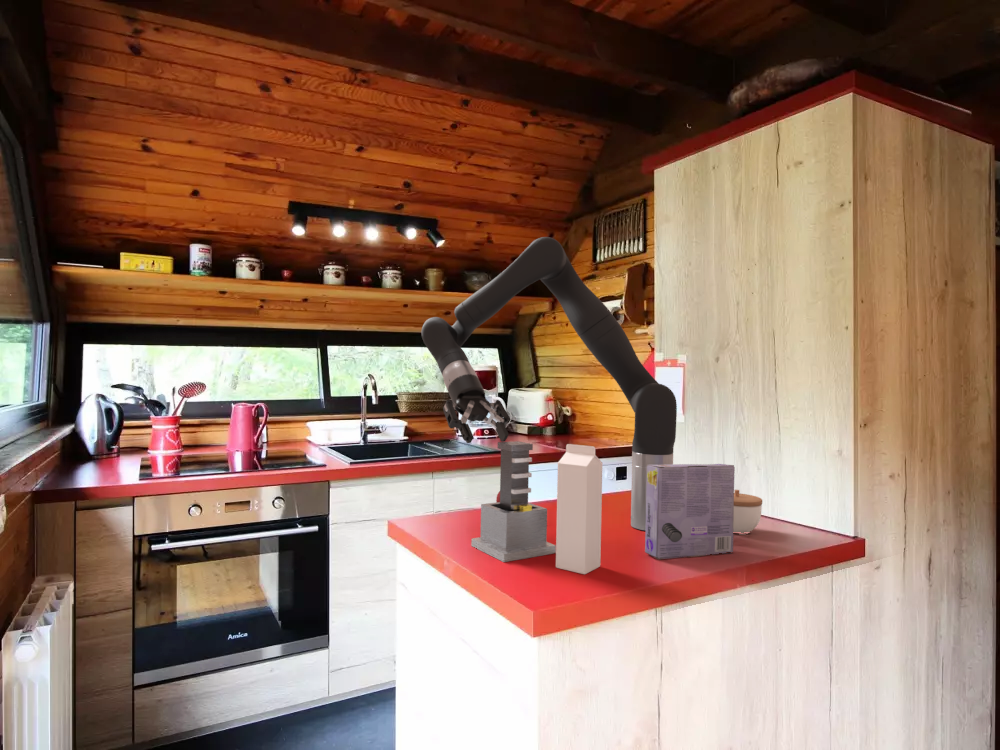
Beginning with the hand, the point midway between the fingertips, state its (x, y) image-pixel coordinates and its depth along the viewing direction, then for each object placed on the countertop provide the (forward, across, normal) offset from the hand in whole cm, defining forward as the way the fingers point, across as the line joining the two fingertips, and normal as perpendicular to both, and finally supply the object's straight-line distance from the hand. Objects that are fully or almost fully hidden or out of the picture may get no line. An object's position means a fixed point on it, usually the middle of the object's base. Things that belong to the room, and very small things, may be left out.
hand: (488, 440), depth 128 cm
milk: (+32, +4, -3) cm, 33 cm away
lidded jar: (+30, +53, -1) cm, 61 cm away
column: (+21, 0, +6) cm, 22 cm away
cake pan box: (+35, +30, -6) cm, 47 cm away
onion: (+4, +15, +25) cm, 30 cm away
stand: (+22, 0, +7) cm, 23 cm away
